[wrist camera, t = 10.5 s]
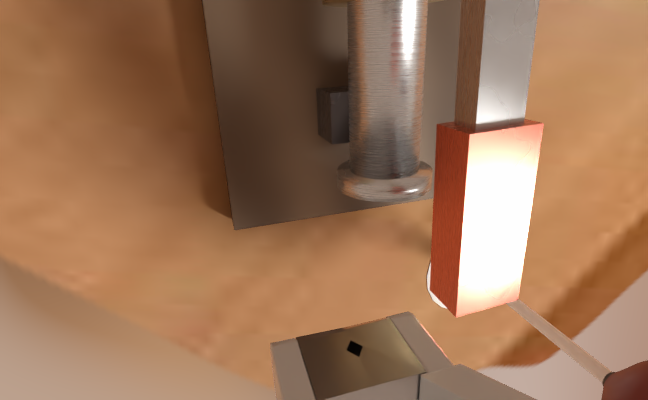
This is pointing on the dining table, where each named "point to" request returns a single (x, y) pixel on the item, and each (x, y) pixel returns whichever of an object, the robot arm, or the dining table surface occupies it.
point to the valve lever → (486, 161)
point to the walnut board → (302, 102)
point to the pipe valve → (380, 101)
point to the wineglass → (585, 357)
